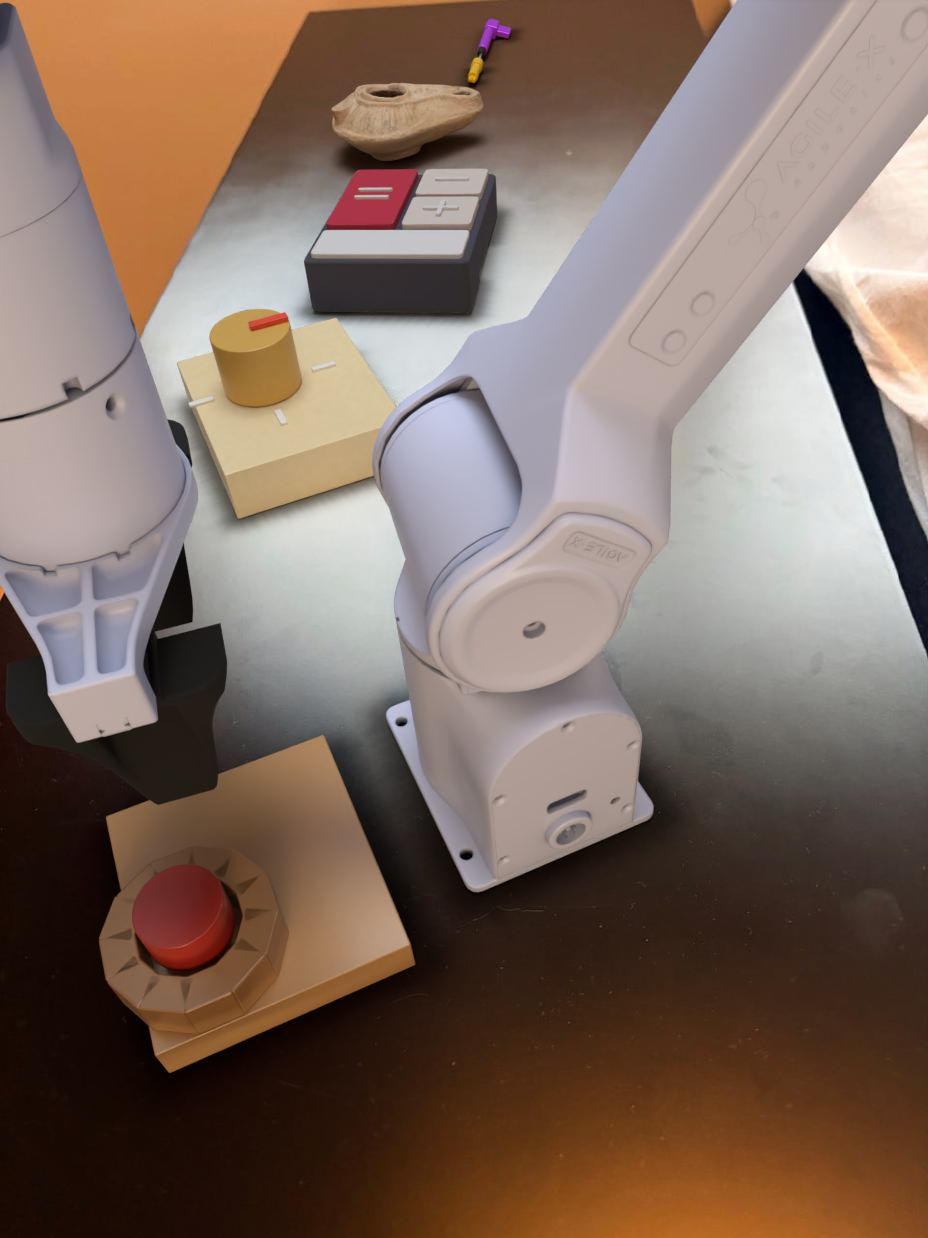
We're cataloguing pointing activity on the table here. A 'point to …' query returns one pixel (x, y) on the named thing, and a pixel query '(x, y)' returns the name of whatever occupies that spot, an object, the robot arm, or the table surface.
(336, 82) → the table surface
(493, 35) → the purple yellow angled rod
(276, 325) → the dimmer knob
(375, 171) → the calculator
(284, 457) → the panel
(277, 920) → the button base
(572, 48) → the table surface
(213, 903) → the power button
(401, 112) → the pottery oil lamp
